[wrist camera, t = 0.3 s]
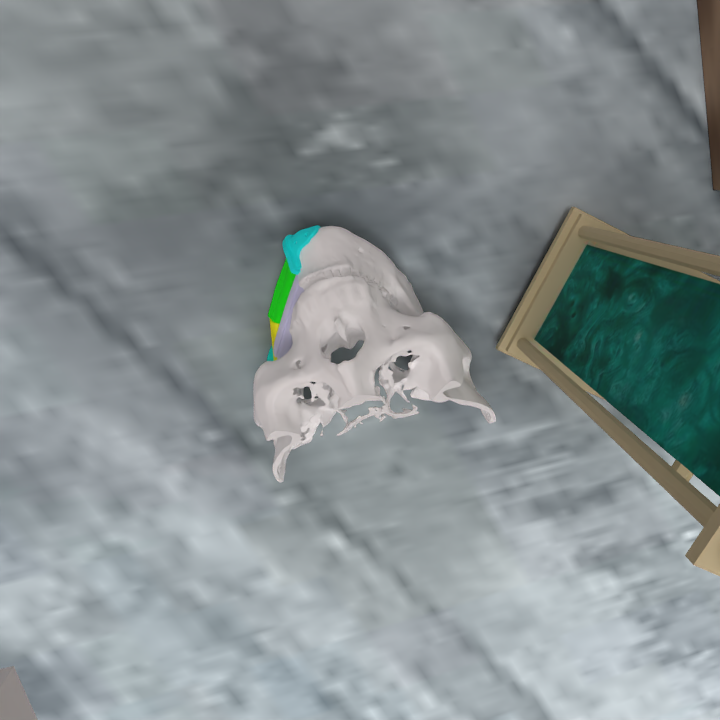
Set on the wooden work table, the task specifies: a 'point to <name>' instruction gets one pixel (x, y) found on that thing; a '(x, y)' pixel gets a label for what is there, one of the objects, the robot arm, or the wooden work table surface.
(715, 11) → the step stand
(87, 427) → the wooden work table surface
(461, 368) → the grey piece
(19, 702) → the robot arm
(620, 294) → the carriage clock
